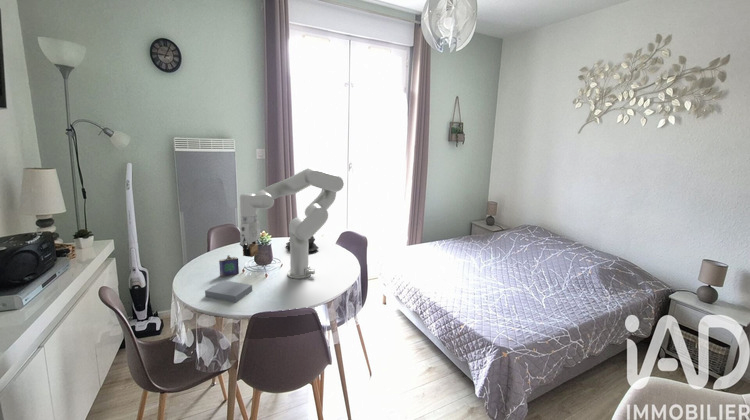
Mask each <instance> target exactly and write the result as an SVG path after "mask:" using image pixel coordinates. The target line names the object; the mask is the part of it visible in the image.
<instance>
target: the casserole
mask: <svg viewBox="0 0 750 420" xmlns="http://www.w3.org/2000/svg"><path fill="white" fill-rule="evenodd" d="M315 241H316V238H315V236H314V235H313V236H312V237H311V238H310V239H308V243H309V247H308V253H309V252H314V251H316V250H318V249H319V247H318V246H317V244H316V243H315ZM285 244H286V246H287V247H288V249H290V238H289V239H288V242H286V243H285Z"/></svg>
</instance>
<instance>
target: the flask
mask: <svg viewBox="0 0 750 420" xmlns="http://www.w3.org/2000/svg"><path fill="white" fill-rule="evenodd" d="M218 263H219V276H220V277H222V278H223V277H224V278H225V277H230V276H237V275H239V274H240V266H239V258H238V257H236V256H233V257H231V256H230V255H229V254H228V255H226V258H222V259H219V261H218Z"/></svg>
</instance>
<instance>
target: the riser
mask: <svg viewBox="0 0 750 420" xmlns="http://www.w3.org/2000/svg"><path fill="white" fill-rule="evenodd" d="M251 292H253V284H248V283H242V282H236V281H230V280H226V279H223V280H221V281H219V282H216V284H215V285H212V286H211V287H208V288H207V289H206V290H204V294H205V296H204V297H205V298H209V299H215V300H220V301H225V300H226V301H225V302H231V303H232V302H233V303H237V302H239V301H240V300H242V299H243V298H244V297H246V296H247V295H248V294H250V293H251Z"/></svg>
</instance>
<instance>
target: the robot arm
mask: <svg viewBox="0 0 750 420" xmlns="http://www.w3.org/2000/svg"><path fill="white" fill-rule="evenodd" d="M310 186H312V187H316V188H318V189H321V191H320V193H319V194H318V196H317V197H316V198H315V199H314V200H312V202H310V203H309V205H307V206H306V208H305V210H304V216H305V218H303V217H300V216H299V217H294V218H293V219H292V220H290V222H289V225H288V232H289V239H290V241H289V242H290V248H289V250H290V252H289V254H290V255H289V258H290V263H289V265H290V268H289V269H290V270H288V272H287V276H288V278H290V279H294V280H300V279H306V278H308V277H311V276H312V275H315V274H316V271H315V268H311V265H309V252H308V247H309V243H308V239H310V238H311V237H312V236H314V235H315V234H316V233H317V232H318V231H319V230H320V229H322V228H323V226H324V225H325V223H326V222H327V221H328V218H329V212H328V210H329V208H330V207H331V206H332V205H333V203H334V202H335V200H336V196H337V193H338V192H339V191H341V190H342V189H343V188H344V180H343V178H342V177H341V176H339V175H336V174H333V173H328V172H325V171H323V170H319V169H317V168H313V167H308V168H305V169H303V170H302V171H299V172H298V173H296V174H293V175H291V176H290V177H288V178H286V179H282V180H281V181H278V182H276V183H275V182H274V183H273V184H271V185H270V184H269V185H268V186H266V187H264V188H263V189H260V190H258V191H257V192H256V194H255V193H250V192H249V193H248V192H247V193H245V192H244V193H241V194H240V195H239V209H240V210H239V211H240V226H239V227H240V228H239V229H240V230H239V232H240V233H239V237H240V241H239V246H241V247H242V250H243V249H244V256H243V257H249V256H250V249H249V245H250V243H251V244H258V245H259V243H258V242H259V240H260V238H261V230H260V229H261V228H260V222H259V220H258V209H261V210H269V209H270V208H272V207H273V206H274V204H275V200H276V199H278V198H280V197H283V196H284V197H285V196H292V195H295V194H297V193H299V192H301V191H303V190H304V189H306V188H309V187H310ZM246 244H247V245H246ZM249 258H250V257H249Z"/></svg>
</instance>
